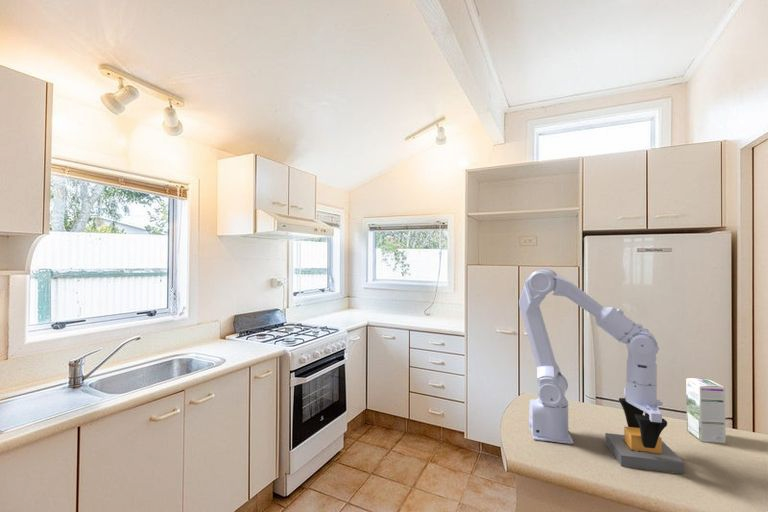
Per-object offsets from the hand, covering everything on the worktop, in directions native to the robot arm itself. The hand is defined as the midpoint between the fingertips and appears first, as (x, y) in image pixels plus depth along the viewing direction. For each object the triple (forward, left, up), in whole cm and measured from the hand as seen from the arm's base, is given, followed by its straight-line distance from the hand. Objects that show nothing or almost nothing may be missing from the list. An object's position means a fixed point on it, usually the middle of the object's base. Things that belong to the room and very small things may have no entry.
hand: (641, 438), depth 82 cm
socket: (0, 0, -5) cm, 5 cm away
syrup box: (+20, +14, -5) cm, 25 cm away
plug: (0, 0, -4) cm, 4 cm away
